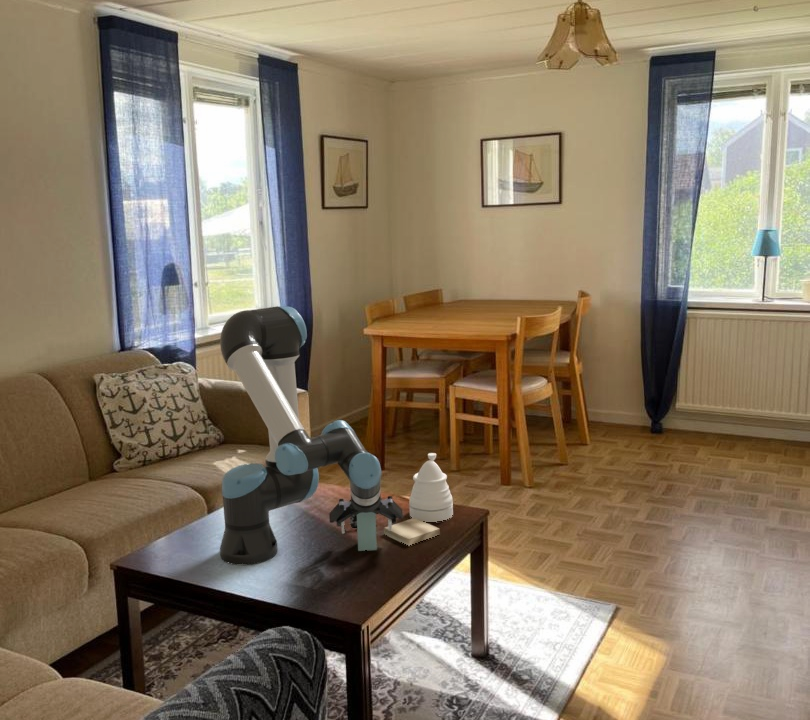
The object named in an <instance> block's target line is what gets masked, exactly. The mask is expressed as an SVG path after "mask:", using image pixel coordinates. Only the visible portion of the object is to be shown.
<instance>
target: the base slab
mask: <svg viewBox="0 0 810 720" xmlns="http://www.w3.org/2000/svg"><path fill="white" fill-rule="evenodd" d="M440 530H441V529H440V527H437V526H435V525H433V524H431V523H426V522H423V521H421V520H419V519H416V518H410V519H407V520H403V521H400V522H396V523H393V524H392V529H391V531H389V528H388V526H385V527H383V531H384V532H383V533H384V534H385V536H386V535H387V537H389V538H391V539H393V540H395V541H397V542H398V543H401V542H402V543H401V544H403V543H404V544H403V545H405V544H406V545H405V546H407V545H408V547H411V546H413V545H412V544H414V545H416V544H415V543H417V544H419V543H418V542H420V541H423V540H426V539H428V540H430V539H429V538H431V539H433V538H432V537H434V538H436V537H435V536H437V535H440V536H441V531H440ZM437 537H438V536H437ZM426 541H427V540H426ZM423 542H424V541H423ZM420 543H421V542H420ZM410 545H411V546H410Z"/></svg>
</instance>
